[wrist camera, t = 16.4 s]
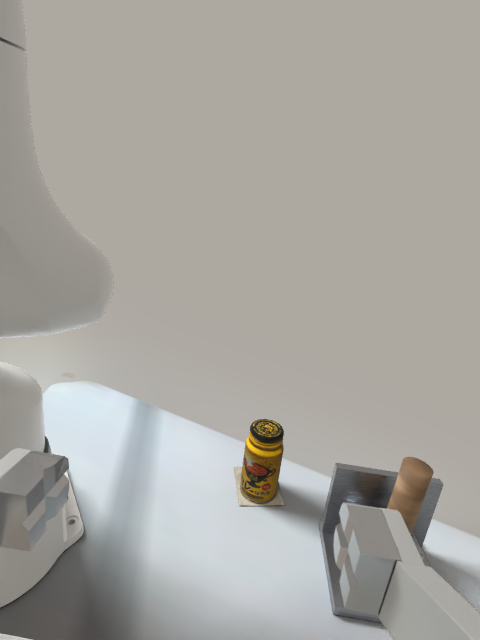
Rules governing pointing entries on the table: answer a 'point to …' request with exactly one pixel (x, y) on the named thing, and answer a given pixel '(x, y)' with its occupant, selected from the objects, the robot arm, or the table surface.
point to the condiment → (261, 465)
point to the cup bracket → (372, 492)
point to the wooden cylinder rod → (410, 489)
